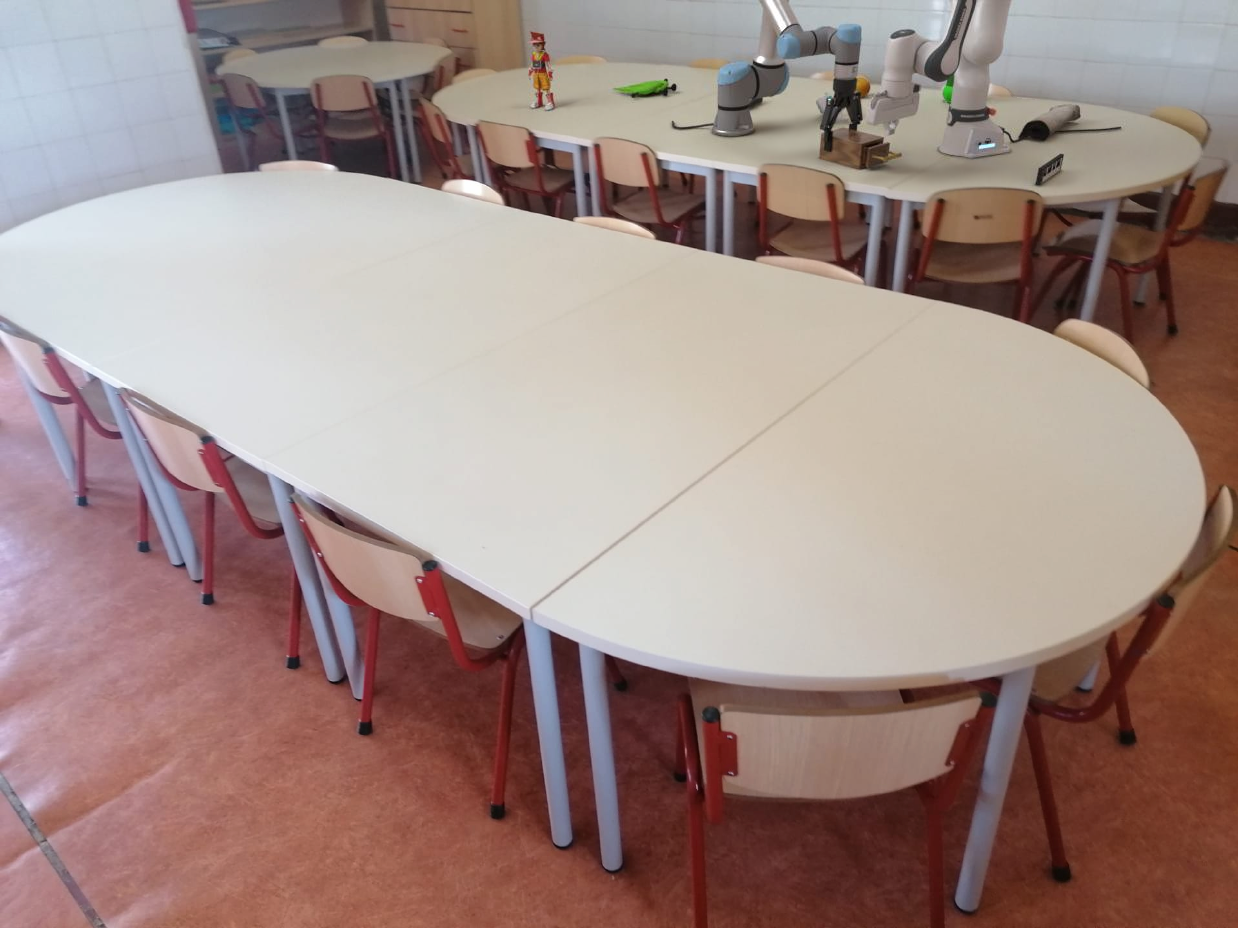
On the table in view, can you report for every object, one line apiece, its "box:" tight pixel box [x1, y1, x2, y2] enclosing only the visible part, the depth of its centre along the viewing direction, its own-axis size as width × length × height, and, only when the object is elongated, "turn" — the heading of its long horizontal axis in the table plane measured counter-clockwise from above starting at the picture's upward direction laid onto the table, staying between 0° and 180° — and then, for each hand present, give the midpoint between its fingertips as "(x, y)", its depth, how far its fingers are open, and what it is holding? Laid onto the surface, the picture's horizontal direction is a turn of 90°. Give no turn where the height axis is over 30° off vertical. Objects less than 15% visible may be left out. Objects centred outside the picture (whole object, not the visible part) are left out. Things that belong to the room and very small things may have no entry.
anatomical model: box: [815, 92, 850, 124], centre depth 341 cm, size 15×10×10 cm
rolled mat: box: [1017, 103, 1082, 142], centre depth 314 cm, size 30×9×10 cm
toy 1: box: [527, 31, 556, 111], centre depth 374 cm, size 12×9×30 cm
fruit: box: [855, 77, 871, 98], centre depth 368 cm, size 8×8×8 cm
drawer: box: [862, 141, 903, 169], centre depth 293 cm, size 22×9×6 cm, turn 35°
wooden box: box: [818, 126, 885, 170], centre depth 298 cm, size 18×10×8 cm, turn 35°
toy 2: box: [612, 78, 677, 99], centre depth 396 cm, size 28×5×30 cm
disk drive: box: [749, 97, 764, 110], centre depth 367 cm, size 10×3×15 cm
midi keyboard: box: [1035, 153, 1065, 186], centre depth 273 cm, size 18×1×5 cm, turn 138°
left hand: (839, 147), depth 302 cm, fingers closed on wooden box, 11 cm apart
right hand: (889, 135), depth 283 cm, fingers closed
